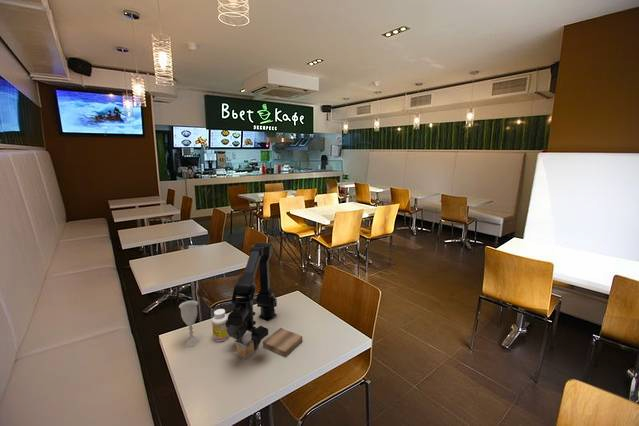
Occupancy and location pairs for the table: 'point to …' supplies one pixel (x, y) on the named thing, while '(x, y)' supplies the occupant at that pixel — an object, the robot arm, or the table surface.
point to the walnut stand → (282, 342)
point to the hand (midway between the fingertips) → (247, 346)
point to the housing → (245, 346)
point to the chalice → (189, 319)
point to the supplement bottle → (220, 325)
